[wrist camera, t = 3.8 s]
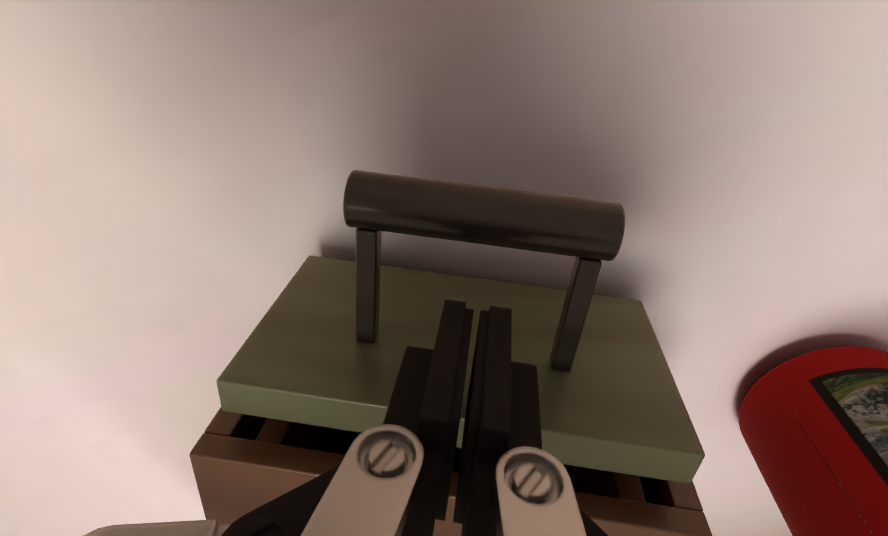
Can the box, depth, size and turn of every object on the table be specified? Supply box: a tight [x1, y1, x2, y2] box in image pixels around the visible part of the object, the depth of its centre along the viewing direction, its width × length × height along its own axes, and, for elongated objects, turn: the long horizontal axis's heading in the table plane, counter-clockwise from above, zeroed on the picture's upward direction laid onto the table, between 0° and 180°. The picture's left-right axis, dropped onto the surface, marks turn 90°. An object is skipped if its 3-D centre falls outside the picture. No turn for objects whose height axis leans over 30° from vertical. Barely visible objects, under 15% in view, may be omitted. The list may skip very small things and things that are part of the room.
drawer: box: [217, 170, 705, 503], centre depth 18 cm, size 20×13×7 cm, turn 175°
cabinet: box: [190, 407, 712, 536], centre depth 21 cm, size 16×14×9 cm
